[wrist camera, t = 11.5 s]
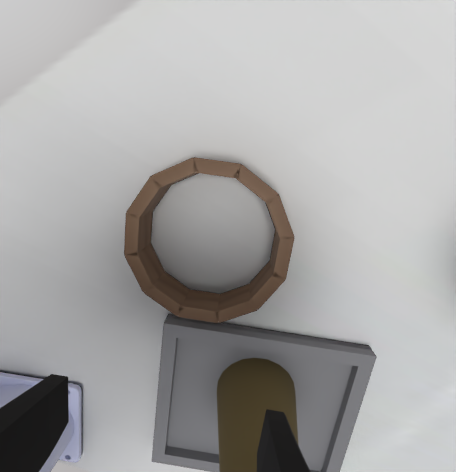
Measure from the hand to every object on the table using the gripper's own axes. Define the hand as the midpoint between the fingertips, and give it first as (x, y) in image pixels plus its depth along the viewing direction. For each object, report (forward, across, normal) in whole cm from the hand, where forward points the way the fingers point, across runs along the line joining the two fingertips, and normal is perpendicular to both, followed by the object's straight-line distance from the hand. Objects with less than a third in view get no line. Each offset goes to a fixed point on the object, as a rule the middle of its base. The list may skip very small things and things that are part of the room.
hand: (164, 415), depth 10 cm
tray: (+10, -5, +9) cm, 15 cm away
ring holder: (+10, 0, -4) cm, 11 cm away
